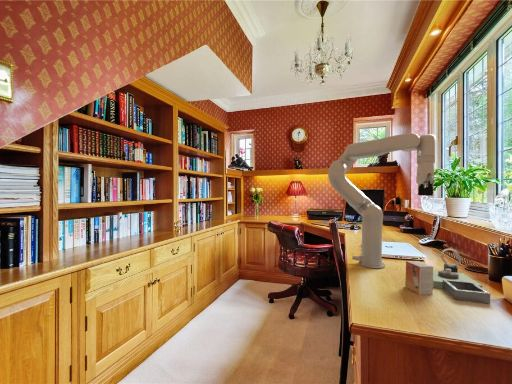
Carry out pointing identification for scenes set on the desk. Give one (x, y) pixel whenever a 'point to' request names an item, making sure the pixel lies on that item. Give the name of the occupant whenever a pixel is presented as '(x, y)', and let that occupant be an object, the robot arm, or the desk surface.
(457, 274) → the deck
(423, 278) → the small box
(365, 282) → the desk surface
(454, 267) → the watch
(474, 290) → the grey tray
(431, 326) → the desk surface
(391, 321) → the desk surface
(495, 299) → the desk surface
